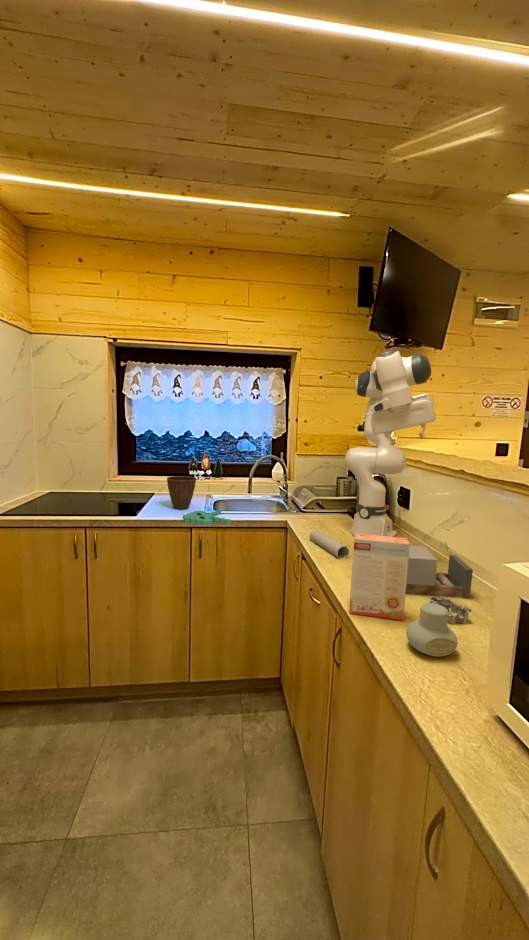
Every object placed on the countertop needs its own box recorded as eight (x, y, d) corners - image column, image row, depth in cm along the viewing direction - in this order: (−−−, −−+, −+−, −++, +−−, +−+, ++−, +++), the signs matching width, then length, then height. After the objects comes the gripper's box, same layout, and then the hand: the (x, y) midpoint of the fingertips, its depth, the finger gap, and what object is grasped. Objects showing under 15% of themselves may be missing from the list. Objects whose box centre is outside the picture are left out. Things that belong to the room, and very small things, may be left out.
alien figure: (219, 514, 217) (180, 516, 209) (220, 510, 216) (180, 511, 209) (230, 524, 198) (188, 526, 191) (231, 520, 198) (188, 522, 191)
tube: (305, 530, 178) (335, 549, 155) (316, 526, 180) (347, 543, 157) (308, 542, 180) (338, 562, 156) (319, 537, 181) (350, 556, 158)
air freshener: (415, 660, 93) (419, 617, 92) (399, 639, 101) (403, 600, 100) (462, 659, 94) (467, 616, 93) (443, 639, 103) (447, 600, 101)
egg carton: (471, 625, 111) (473, 610, 111) (444, 625, 110) (446, 610, 110) (449, 606, 122) (451, 592, 121) (424, 606, 121) (426, 592, 120)
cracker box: (401, 611, 116) (408, 537, 113) (403, 621, 110) (410, 543, 108) (349, 604, 119) (354, 531, 116) (348, 613, 113) (354, 537, 111)
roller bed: (392, 593, 128) (395, 564, 127) (383, 577, 141) (385, 550, 140) (469, 598, 127) (472, 569, 126) (452, 581, 140) (455, 555, 138)
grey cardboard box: (400, 583, 127) (403, 557, 126) (390, 567, 140) (392, 544, 139) (434, 585, 127) (437, 559, 126) (421, 569, 140) (423, 546, 139)
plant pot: (160, 507, 223) (160, 477, 220) (183, 503, 234) (183, 475, 232) (178, 513, 213) (179, 481, 211) (201, 508, 224) (202, 478, 222)
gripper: (432, 391, 137) (441, 433, 139) (369, 407, 146) (378, 446, 148) (430, 392, 131) (440, 435, 133) (365, 409, 141) (375, 449, 142)
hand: (407, 441), depth 140 cm, fingers open, 8 cm apart
